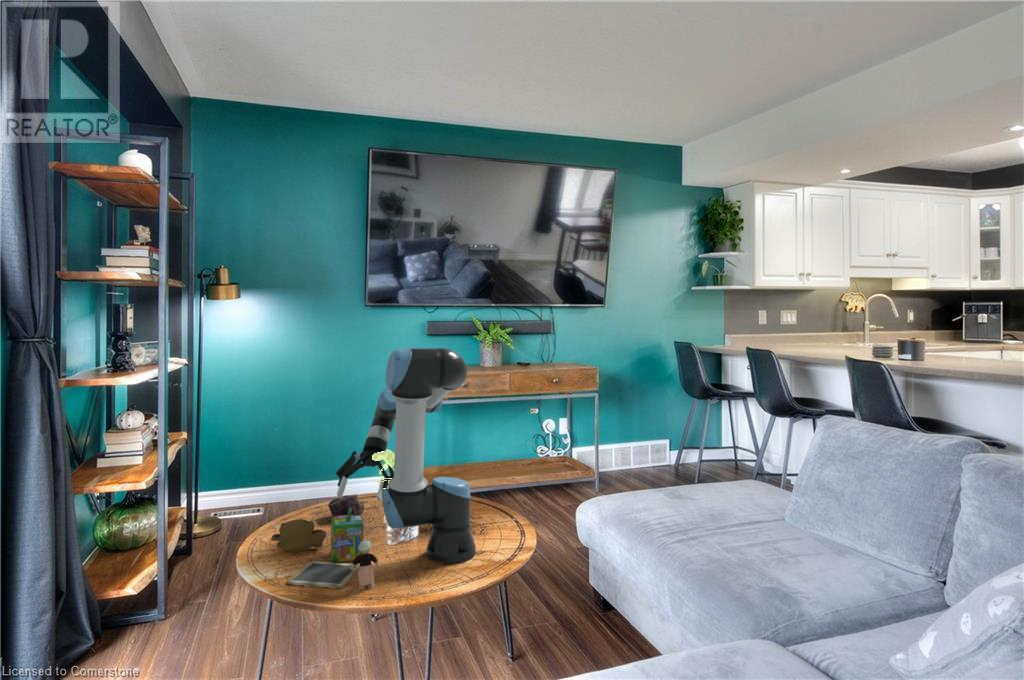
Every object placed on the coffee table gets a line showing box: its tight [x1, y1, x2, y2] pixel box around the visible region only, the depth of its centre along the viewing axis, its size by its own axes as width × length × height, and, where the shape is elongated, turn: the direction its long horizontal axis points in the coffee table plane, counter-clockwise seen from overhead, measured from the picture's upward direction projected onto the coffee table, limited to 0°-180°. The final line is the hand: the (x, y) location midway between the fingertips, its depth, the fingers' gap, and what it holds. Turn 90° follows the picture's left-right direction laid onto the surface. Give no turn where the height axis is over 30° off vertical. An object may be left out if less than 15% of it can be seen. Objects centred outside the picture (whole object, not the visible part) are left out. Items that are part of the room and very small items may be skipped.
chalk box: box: [330, 507, 365, 563], centre depth 176 cm, size 9×9×15 cm
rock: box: [327, 494, 365, 517], centre depth 211 cm, size 12×9×10 cm
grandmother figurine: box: [350, 539, 381, 591], centre depth 155 cm, size 8×4×13 cm, turn 118°
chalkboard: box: [285, 560, 360, 590], centre depth 162 cm, size 16×14×1 cm
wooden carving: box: [270, 518, 327, 553], centre depth 181 cm, size 16×5×10 cm, turn 109°
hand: (358, 497), depth 185 cm, fingers open, 13 cm apart
